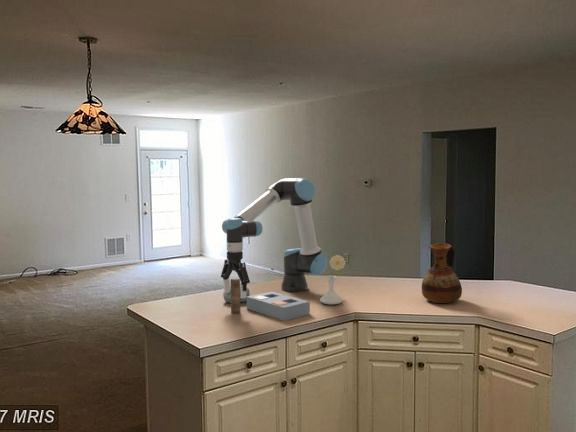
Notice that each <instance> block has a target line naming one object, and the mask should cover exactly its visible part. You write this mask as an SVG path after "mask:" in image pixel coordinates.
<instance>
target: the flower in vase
mask: <svg viewBox="0 0 576 432" xmlns="http://www.w3.org/2000/svg"><path fill="white" fill-rule="evenodd" d="M329 265H330V268H331V269H333V270H335V271H334V273H333V272H331V271H329V270H327V273H329V274H332V275H326V278H327V281H328V291H327V292H326V293H325V294H324V295H322V297H320V299H319V301H320V302H321V303H323V304H325V305H339V304H341V303H343V299H342V297H341V295H339V294H338V293H336V292H335V289H334V285H335V284H334V283H335V281H336V279H337V276H336V275H335V274H337V275H338V276H340V275H344V274H345V271H343V270H342V269H344V268H345V266H346V261H345V258H344V257H343V256H341V255H337V254H336V255H333V256H331V258H330V260H329Z"/></svg>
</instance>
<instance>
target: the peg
mask: <svg viewBox="0 0 576 432" xmlns="http://www.w3.org/2000/svg"><path fill="white" fill-rule="evenodd" d="M240 286H241V281H240V278H230V287H231V303H230V313H231V314H232V313H233V315H237V314H240V313H241V302H240Z"/></svg>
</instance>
